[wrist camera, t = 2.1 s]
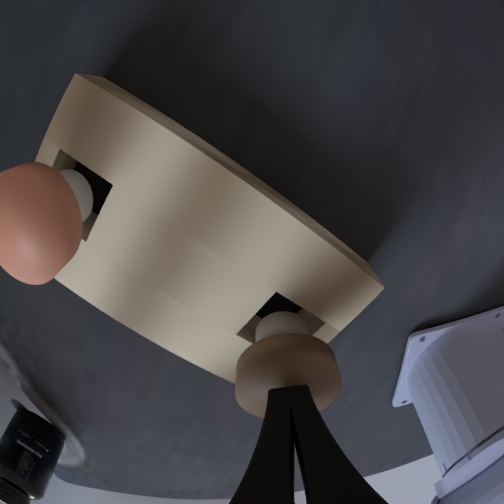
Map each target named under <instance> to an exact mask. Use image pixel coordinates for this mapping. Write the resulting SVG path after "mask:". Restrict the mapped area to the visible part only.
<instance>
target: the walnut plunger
mask: <svg viewBox="0 0 504 504" xmlns="http://www.w3.org/2000/svg"><path fill="white" fill-rule="evenodd" d="M255 340H256V342H255V343H253V344H252V345H250V346H249V347H248V348H247V349H246V350H245V351H244V352H243V353H242V354H241V356H240V357H239V359H238V361H237V365H236V381H235V396H236V399H237V402H238V403H239V405H240V406H241V407H242V408H243V409H244V410H245V411H247V412H248V413H250V414H252V415H254V416H257V417H260V418H263V419H264V416H265V412H266V406H267V399H268V391H269V390H270V389H273V388H281V387H289V386H297V385H304V384H306V385H308V386H309V389H310V392H311V395H312V397H313V400H314V402H315V404H316V407H317V409H318V411H321V410H323V409H324V408H326V407H327V406H328V405H330V404H331V403H332V402H333V401H334V400H335V398H336V397H337V396H338V394H339V392H340V389H341V385H342V380H341V376H340V373H339V369H338V366H337V362H336V359H335V355H334V353H333V351H332V349H331V348H330V346H329V345H328V344H326V343H325V342H324V341H322V340H321V339H319V338H317V337H314V336H311V335H309V332H308V327H307V324H306V322H305V320H304V319H303V318H302V317H301V316H299V315H298V314H295V313H293V312H288V311H280V312H275V313H271V314H269V315H267V316H265V317H264V318H263V319H262V320H261V321H260V322H259V323H258V325H257V327H256V331H255Z"/></svg>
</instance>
